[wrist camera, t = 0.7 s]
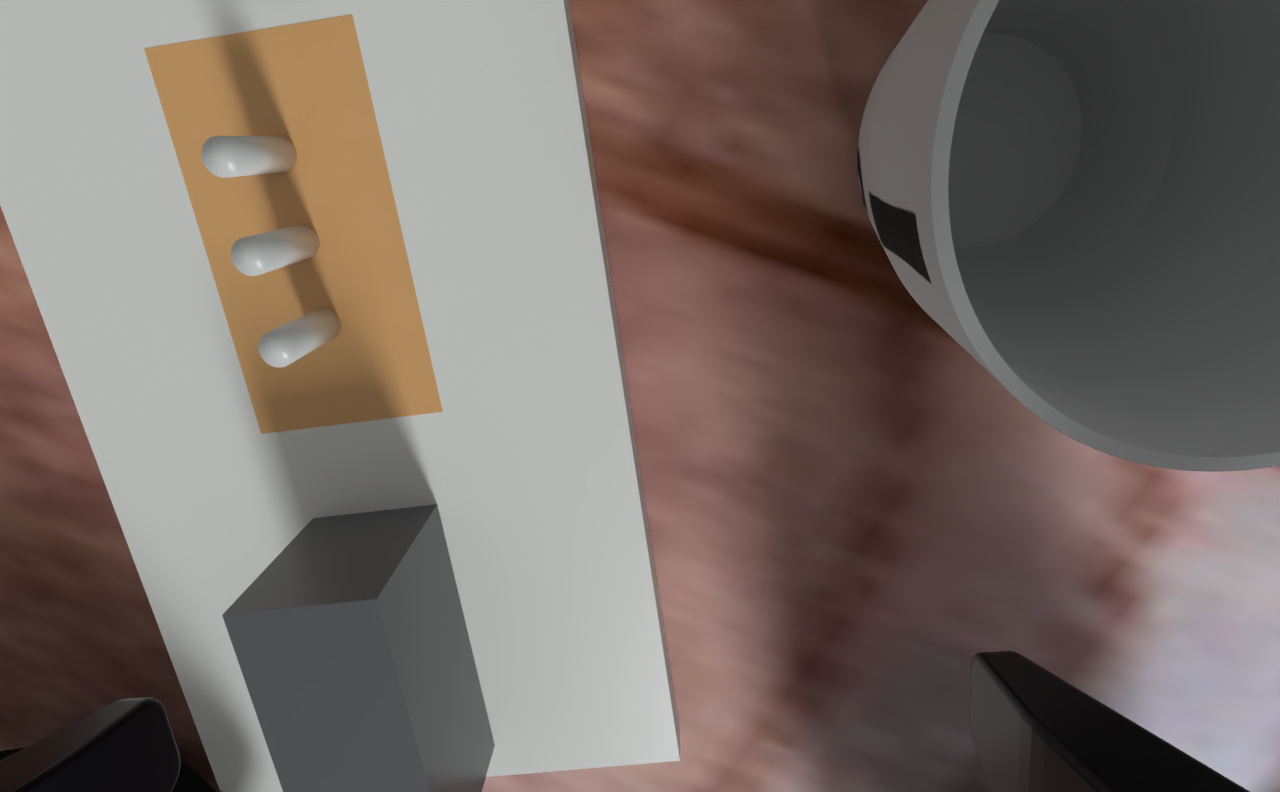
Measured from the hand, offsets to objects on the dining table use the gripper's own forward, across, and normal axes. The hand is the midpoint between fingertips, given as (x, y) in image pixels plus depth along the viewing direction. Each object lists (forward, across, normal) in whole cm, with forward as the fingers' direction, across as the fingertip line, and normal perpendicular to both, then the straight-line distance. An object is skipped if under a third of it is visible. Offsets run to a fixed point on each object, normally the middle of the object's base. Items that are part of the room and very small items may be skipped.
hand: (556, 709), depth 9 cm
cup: (+13, -9, -5) cm, 17 cm away
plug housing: (+12, +7, +6) cm, 15 cm away
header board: (+13, +7, 0) cm, 15 cm away
